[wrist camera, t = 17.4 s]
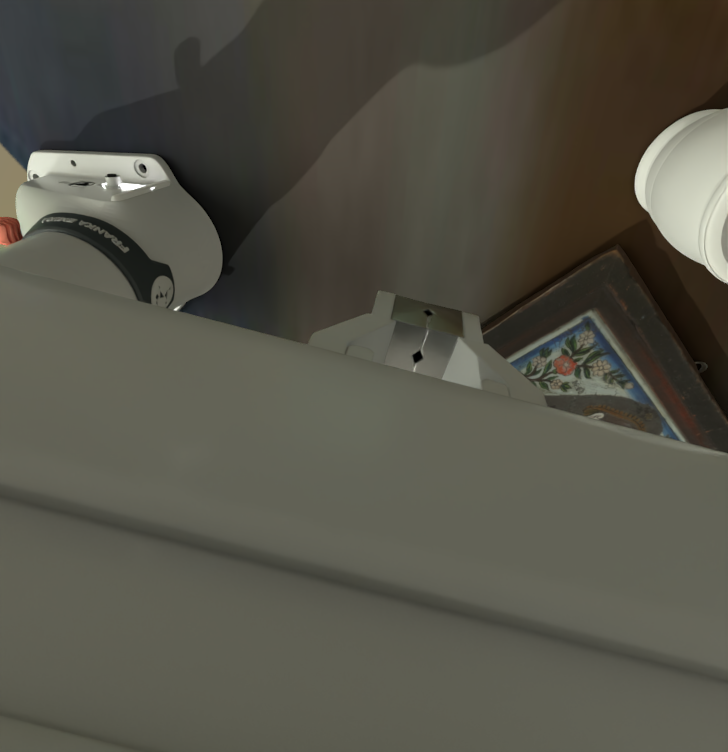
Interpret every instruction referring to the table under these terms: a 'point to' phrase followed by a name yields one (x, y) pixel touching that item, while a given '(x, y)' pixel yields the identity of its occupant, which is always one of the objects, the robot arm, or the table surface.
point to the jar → (690, 187)
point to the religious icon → (610, 354)
